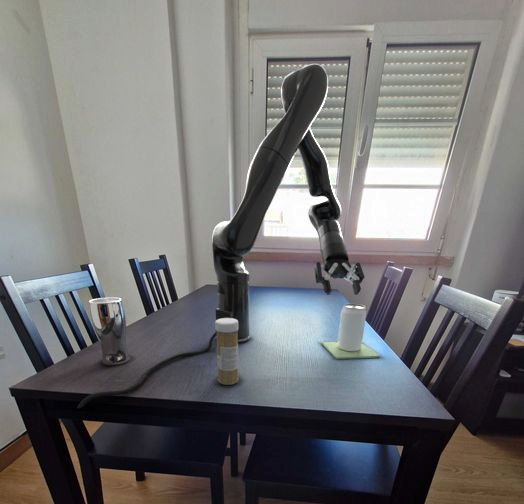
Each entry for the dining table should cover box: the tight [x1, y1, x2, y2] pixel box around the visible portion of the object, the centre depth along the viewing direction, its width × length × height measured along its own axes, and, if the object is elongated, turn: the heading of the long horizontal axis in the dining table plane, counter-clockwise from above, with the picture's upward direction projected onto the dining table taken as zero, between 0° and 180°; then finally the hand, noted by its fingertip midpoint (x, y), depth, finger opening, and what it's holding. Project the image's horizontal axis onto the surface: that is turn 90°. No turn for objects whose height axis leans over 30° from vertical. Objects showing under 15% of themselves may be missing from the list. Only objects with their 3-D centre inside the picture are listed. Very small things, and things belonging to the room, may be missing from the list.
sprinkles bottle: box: [214, 318, 240, 386], centre depth 58 cm, size 5×5×13 cm
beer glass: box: [88, 297, 131, 366], centre depth 67 cm, size 7×7×15 cm
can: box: [337, 303, 367, 352], centre depth 77 cm, size 6×6×12 cm
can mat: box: [321, 341, 381, 360], centre depth 79 cm, size 12×12×1 cm
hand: (343, 293), depth 81 cm, fingers open, 8 cm apart
